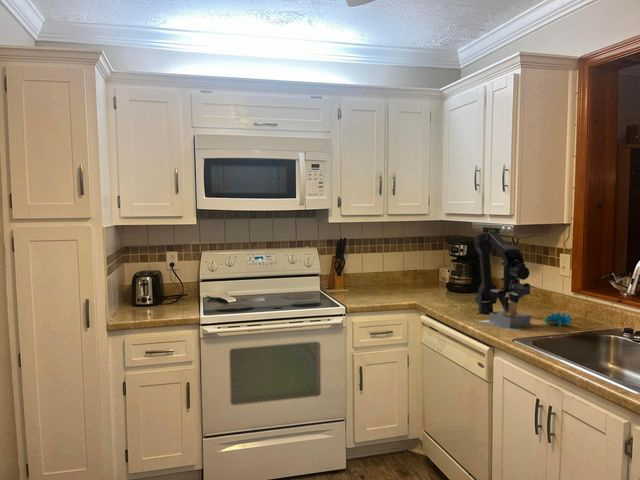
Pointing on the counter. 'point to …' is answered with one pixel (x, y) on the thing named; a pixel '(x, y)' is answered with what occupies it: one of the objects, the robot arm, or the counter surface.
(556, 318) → the blue spiky toy
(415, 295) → the counter surface
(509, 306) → the post
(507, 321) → the guide block
